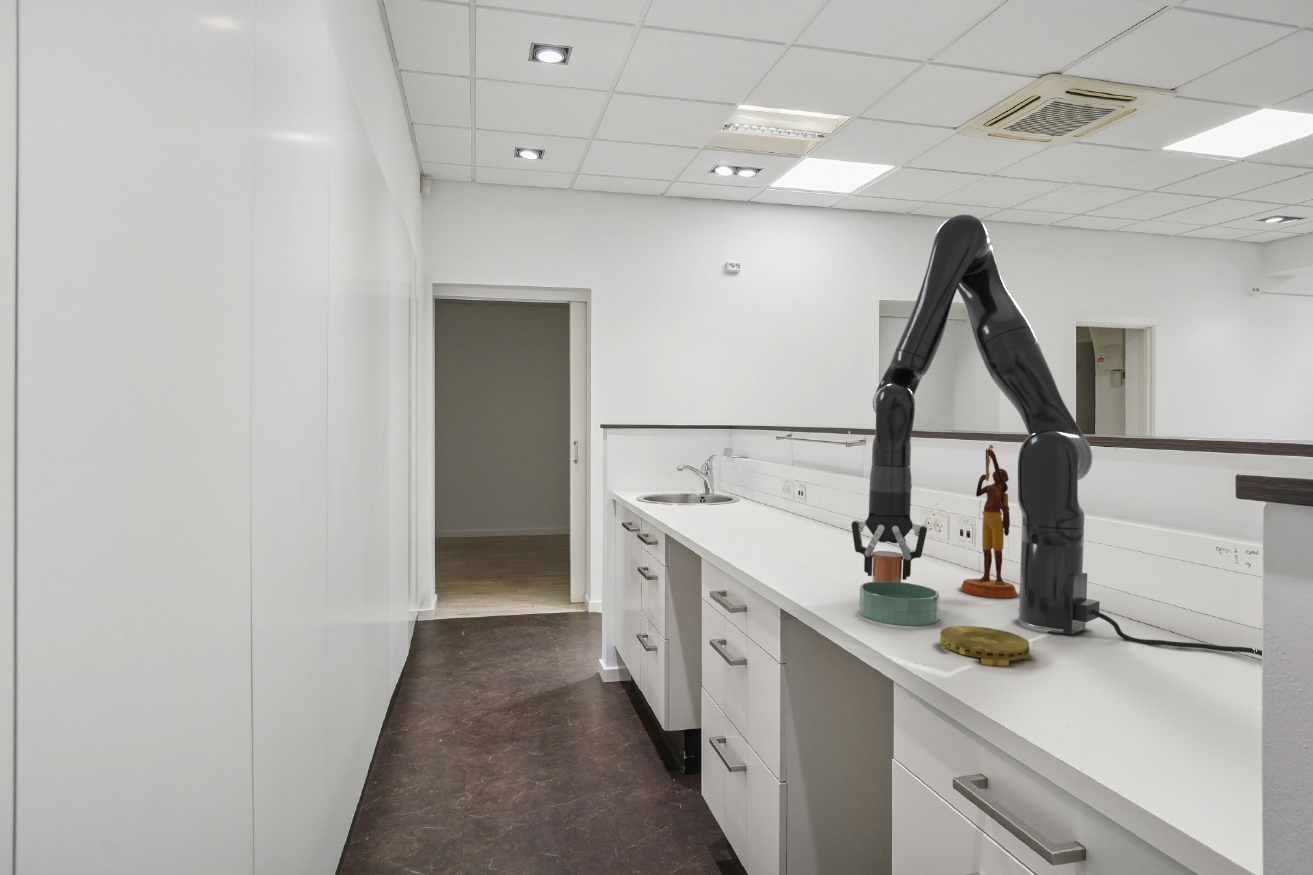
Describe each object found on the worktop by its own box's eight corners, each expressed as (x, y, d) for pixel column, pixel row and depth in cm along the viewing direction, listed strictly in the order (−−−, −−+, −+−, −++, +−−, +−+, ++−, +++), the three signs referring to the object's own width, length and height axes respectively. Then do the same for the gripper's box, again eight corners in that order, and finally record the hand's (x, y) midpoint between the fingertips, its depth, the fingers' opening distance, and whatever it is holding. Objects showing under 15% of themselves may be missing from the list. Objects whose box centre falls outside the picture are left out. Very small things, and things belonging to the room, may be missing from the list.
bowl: (952, 620, 123) (953, 592, 123) (911, 633, 115) (912, 603, 115) (886, 604, 133) (886, 578, 133) (843, 615, 125) (844, 587, 125)
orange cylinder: (908, 591, 136) (909, 554, 136) (891, 595, 133) (892, 557, 132) (882, 585, 141) (883, 549, 140) (864, 588, 137) (866, 552, 137)
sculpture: (951, 588, 148) (955, 443, 148) (991, 585, 151) (995, 444, 151) (986, 599, 139) (991, 445, 138) (1028, 597, 142) (1033, 446, 141)
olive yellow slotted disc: (998, 671, 98) (999, 655, 98) (923, 647, 108) (923, 632, 108) (1045, 656, 105) (1045, 642, 105) (970, 635, 115) (970, 622, 115)
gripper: (848, 488, 135) (846, 577, 136) (930, 493, 130) (927, 585, 130) (853, 485, 142) (850, 569, 143) (930, 489, 137) (927, 577, 137)
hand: (887, 576), depth 136 cm, fingers closed on orange cylinder, 5 cm apart
